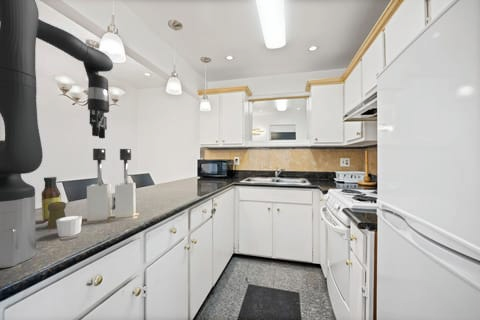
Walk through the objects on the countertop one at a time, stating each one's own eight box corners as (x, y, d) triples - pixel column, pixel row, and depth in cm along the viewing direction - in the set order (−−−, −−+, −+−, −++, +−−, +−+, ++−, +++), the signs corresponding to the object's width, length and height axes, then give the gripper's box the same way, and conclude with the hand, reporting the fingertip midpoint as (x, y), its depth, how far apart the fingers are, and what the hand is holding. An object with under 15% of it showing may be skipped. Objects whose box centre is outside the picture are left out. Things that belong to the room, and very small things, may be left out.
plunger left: (104, 195, 81) (104, 148, 81) (90, 196, 79) (90, 148, 79) (108, 193, 86) (107, 149, 86) (94, 194, 84) (94, 148, 84)
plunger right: (131, 194, 85) (130, 149, 85) (118, 194, 83) (117, 148, 83) (132, 192, 90) (132, 149, 89) (120, 193, 88) (120, 149, 88)
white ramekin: (63, 243, 63) (63, 222, 63) (51, 239, 65) (51, 219, 65) (86, 235, 69) (86, 216, 69) (75, 232, 71) (74, 214, 71)
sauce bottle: (65, 218, 88) (65, 176, 88) (50, 223, 82) (50, 177, 81) (53, 218, 89) (52, 176, 88) (37, 222, 82) (36, 177, 82)
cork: (66, 225, 78) (65, 199, 78) (68, 229, 75) (68, 201, 75) (45, 230, 74) (45, 202, 74) (47, 234, 70) (46, 204, 70)
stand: (136, 221, 84) (136, 218, 84) (81, 227, 76) (81, 224, 76) (139, 215, 93) (139, 212, 93) (90, 220, 86) (90, 216, 86)
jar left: (107, 220, 81) (106, 185, 81) (87, 222, 78) (86, 186, 78) (111, 215, 87) (111, 183, 87) (93, 217, 85) (92, 184, 85)
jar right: (133, 217, 85) (133, 184, 84) (115, 219, 82) (115, 185, 82) (135, 213, 91) (135, 182, 91) (118, 214, 88) (118, 183, 88)
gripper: (104, 96, 77) (104, 135, 77) (112, 105, 90) (113, 139, 90) (81, 94, 74) (81, 135, 74) (93, 103, 87) (94, 138, 88)
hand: (98, 137), depth 82 cm, fingers open, 8 cm apart
